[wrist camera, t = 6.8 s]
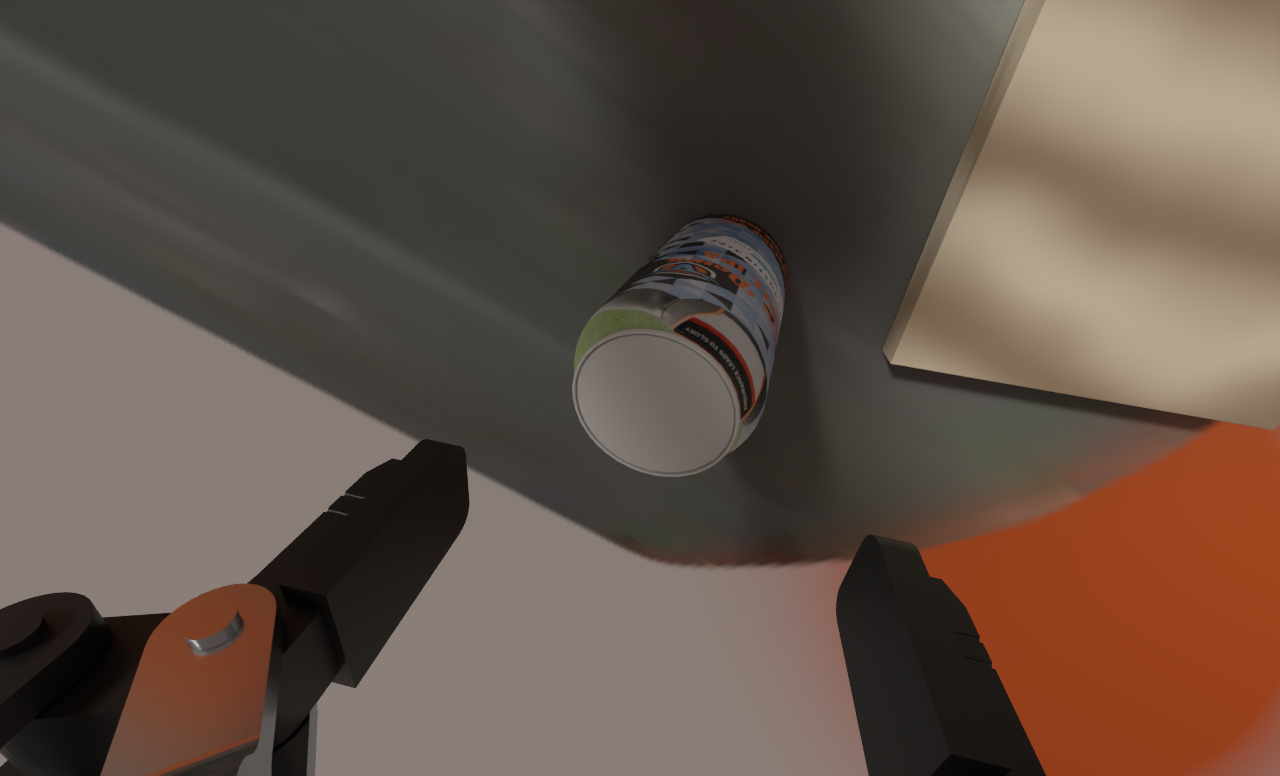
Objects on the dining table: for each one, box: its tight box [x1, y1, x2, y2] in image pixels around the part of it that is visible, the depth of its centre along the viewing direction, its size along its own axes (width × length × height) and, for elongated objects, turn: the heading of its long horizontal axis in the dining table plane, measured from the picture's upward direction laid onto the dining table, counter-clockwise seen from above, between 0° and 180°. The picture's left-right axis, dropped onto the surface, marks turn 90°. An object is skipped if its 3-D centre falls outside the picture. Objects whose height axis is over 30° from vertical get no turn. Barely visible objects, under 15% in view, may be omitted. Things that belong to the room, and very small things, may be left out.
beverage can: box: [572, 214, 788, 477], centre depth 18 cm, size 6×7×12 cm
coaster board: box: [882, 0, 1280, 430], centre depth 18 cm, size 16×16×2 cm
